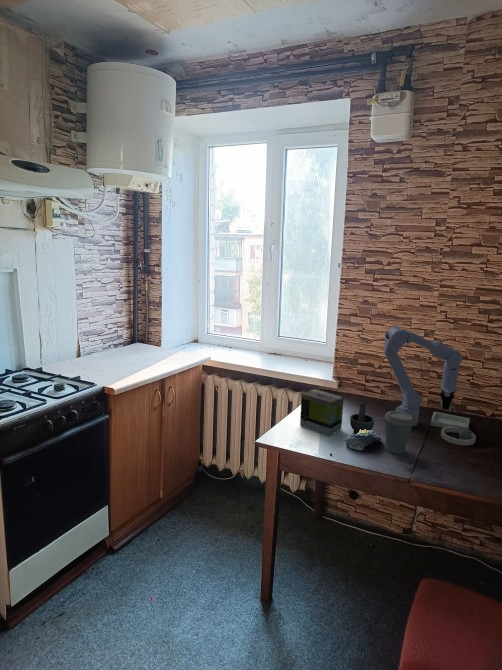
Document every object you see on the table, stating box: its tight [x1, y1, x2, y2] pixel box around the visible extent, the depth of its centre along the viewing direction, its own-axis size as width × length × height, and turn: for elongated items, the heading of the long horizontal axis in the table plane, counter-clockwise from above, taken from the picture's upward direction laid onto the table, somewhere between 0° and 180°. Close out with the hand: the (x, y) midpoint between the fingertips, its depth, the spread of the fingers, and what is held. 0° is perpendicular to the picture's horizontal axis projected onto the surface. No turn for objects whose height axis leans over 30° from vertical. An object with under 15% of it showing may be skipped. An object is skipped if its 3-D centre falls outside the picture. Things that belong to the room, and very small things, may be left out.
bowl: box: [440, 427, 477, 447], centre depth 180 cm, size 12×12×3 cm
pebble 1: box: [439, 398, 453, 412], centre depth 191 cm, size 4×4×4 cm
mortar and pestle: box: [349, 402, 375, 435], centre depth 183 cm, size 11×9×12 cm
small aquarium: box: [299, 388, 344, 437], centre depth 187 cm, size 15×10×15 cm
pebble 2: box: [458, 428, 473, 440], centre depth 178 cm, size 4×4×4 cm
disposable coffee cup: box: [384, 410, 414, 455], centre depth 168 cm, size 11×11×15 cm
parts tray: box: [430, 411, 470, 430], centre depth 193 cm, size 15×12×3 cm
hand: (445, 407), depth 191 cm, fingers closed on pebble 1, 4 cm apart
